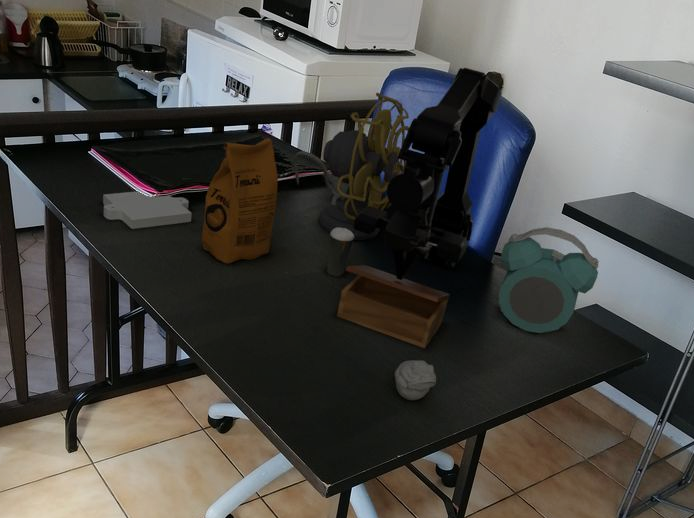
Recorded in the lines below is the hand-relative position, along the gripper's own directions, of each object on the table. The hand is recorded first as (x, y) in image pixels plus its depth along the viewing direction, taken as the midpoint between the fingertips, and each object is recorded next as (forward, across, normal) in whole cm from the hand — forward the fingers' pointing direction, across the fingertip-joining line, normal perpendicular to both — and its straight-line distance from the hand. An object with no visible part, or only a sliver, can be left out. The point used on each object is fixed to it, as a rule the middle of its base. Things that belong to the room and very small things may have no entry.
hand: (399, 278), depth 131 cm
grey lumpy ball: (+9, +11, -21) cm, 25 cm away
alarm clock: (+9, +22, +17) cm, 30 cm away
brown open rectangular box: (+9, 0, 0) cm, 9 cm away
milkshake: (+9, -15, +11) cm, 21 cm away
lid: (+1, 0, 0) cm, 1 cm away
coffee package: (+9, -35, +5) cm, 36 cm away
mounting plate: (+9, -57, +8) cm, 58 cm away
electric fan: (+9, -29, +36) cm, 47 cm away
